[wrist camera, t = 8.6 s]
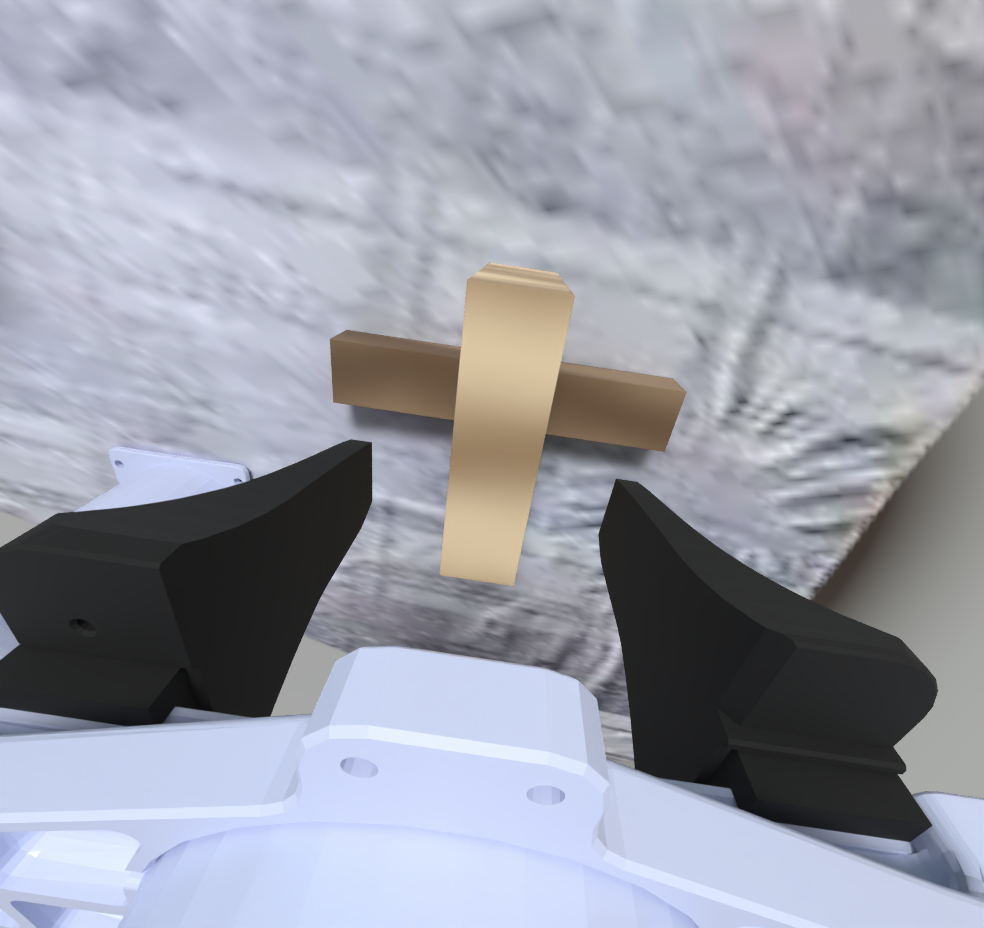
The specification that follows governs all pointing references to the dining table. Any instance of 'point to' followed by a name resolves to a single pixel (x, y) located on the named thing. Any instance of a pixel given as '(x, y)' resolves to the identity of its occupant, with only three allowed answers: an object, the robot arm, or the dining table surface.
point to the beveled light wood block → (501, 416)
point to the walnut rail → (434, 378)
